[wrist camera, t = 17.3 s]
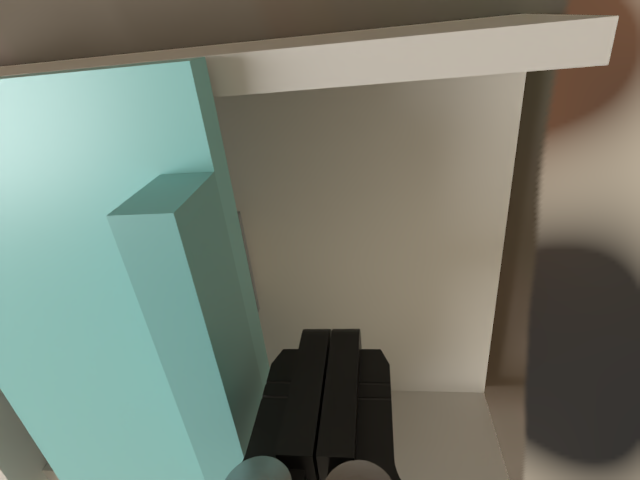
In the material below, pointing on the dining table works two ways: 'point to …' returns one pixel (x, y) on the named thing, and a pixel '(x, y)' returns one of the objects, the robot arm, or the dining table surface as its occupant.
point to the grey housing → (377, 204)
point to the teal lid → (125, 275)
